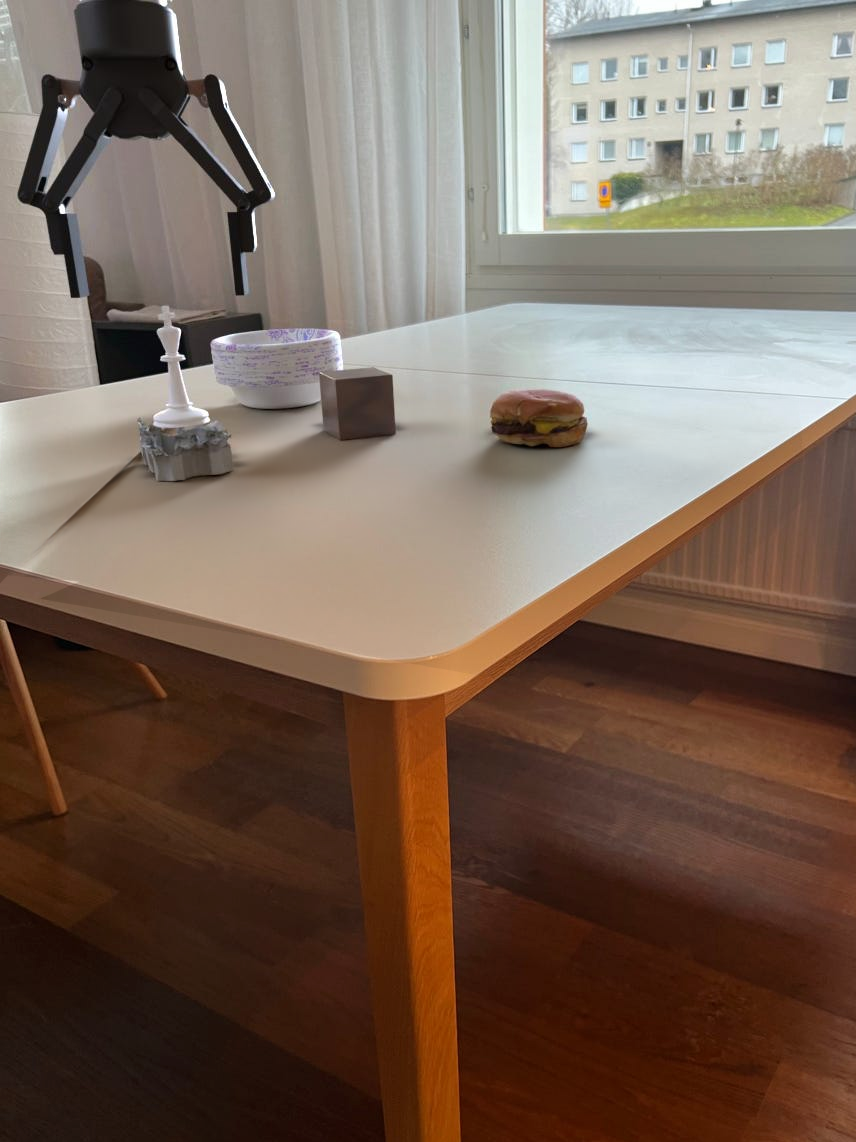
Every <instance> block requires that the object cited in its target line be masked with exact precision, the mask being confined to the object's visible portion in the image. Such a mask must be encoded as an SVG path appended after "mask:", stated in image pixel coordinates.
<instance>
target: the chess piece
mask: <svg viewBox="0 0 856 1142" xmlns="http://www.w3.org/2000/svg"><path fill="white" fill-rule="evenodd" d="M161 312H162V313H158V314H157V320H158V321H163V325H164V326H162V327H160V328H158V329H157V330H156V334H157V336H158V339H159V340H160V342H161V344H162V346H163V349H164V351H165V353H164V354H165V355H161V356H160V360H159V361H161V362H164V363H167V370H168V371H167V372H168V373H167V374H168V403H166V404H165V407H167V408H166V409H164V410H162V411H159V412H157V413H155V414H154V415H153V417H152V419H153V423H152V424H153V425H154V426H156V427H160V428H162V429H177V428H184V429H186V428H194V427H195V426H199V425H203V424H205V425H207V424H209V422H210V421H211V419H210V418H209V412H208V411H206V410H205V409H201V408H198V407H194V406H192V405H193V402H191V401H190V400H189V397H188V394H187V390H186V387H185V383H184V378H183V375H182V370H181V366H180V362H182V361H185V360H186V357H185V355H184V354H180V352H178V351H179V346H180V339H181V334H182V330H181V329H180V328H179V327H176V326H174V325H172V319H176V312H171V309H170V305H161Z"/></svg>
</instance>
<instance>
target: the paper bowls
mask: <svg viewBox="0 0 856 1142" xmlns="http://www.w3.org/2000/svg"><path fill="white" fill-rule="evenodd" d="M341 345H342V343H341V335H340V333H339V332H338V331H335V330H330V329H323V328H278V329H277V328H276V329H265V330H264V329H263V330H255V331H246V332H237V333H233V334H228V335H224V336H220V337H217V338H214V339H212V340H211V342H210V348H211V350H210V352H211V359H212V364H213V373H214V374H213V375H214V376H215V382H216V383H217V384H219V385H223V386H227V387H229V388H230V390H231V391H232V393H233V395H234V396H235V398H236V400H237V401H238V403H240V404H241V405H242V406H244V407H247V408H251V409H261V410H277V409H278V410H279V409H292V408H299V407H304V406H309V405H310V406H311V405H314V404H316V403H318V402H321V392H320V380H319V372H324V371H336V370H344V365H343V352H342V346H341Z"/></svg>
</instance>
